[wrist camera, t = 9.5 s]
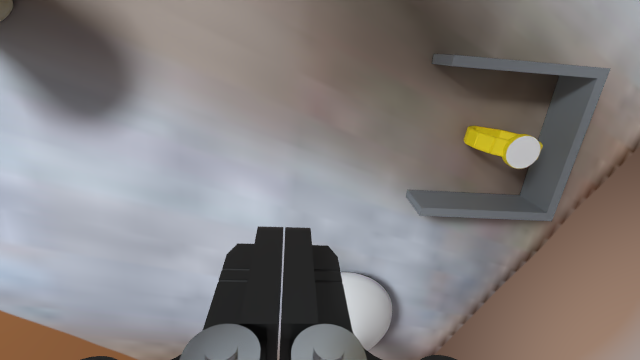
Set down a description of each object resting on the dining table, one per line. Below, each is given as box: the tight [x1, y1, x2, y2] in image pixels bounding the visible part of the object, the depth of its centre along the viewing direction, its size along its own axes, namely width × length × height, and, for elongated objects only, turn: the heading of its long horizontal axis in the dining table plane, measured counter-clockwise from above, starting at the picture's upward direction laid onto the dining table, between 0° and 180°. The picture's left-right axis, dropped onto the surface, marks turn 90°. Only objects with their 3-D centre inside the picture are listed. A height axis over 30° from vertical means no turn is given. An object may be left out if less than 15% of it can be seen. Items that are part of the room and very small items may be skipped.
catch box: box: [406, 54, 610, 221], centre depth 30 cm, size 14×13×4 cm
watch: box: [464, 126, 543, 169], centre depth 29 cm, size 6×3×6 cm, turn 81°
